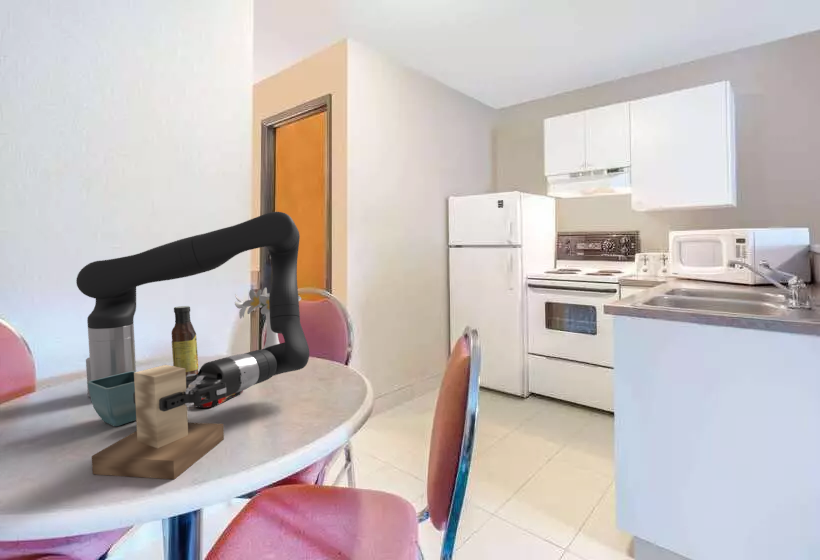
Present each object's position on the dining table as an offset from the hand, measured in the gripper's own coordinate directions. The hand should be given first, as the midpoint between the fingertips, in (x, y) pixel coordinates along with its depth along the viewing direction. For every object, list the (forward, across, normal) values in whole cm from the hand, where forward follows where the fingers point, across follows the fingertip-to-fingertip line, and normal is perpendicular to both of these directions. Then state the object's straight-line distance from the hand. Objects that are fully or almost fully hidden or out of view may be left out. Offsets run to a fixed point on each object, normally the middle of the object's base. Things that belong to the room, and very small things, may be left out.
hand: (147, 401), depth 71 cm
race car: (-26, -15, +11) cm, 32 cm away
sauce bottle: (-35, -40, +10) cm, 54 cm away
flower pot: (-8, -22, +10) cm, 26 cm away
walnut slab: (-2, 0, +10) cm, 11 cm away
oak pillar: (-2, 0, +7) cm, 8 cm away
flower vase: (-49, -21, +10) cm, 54 cm away
